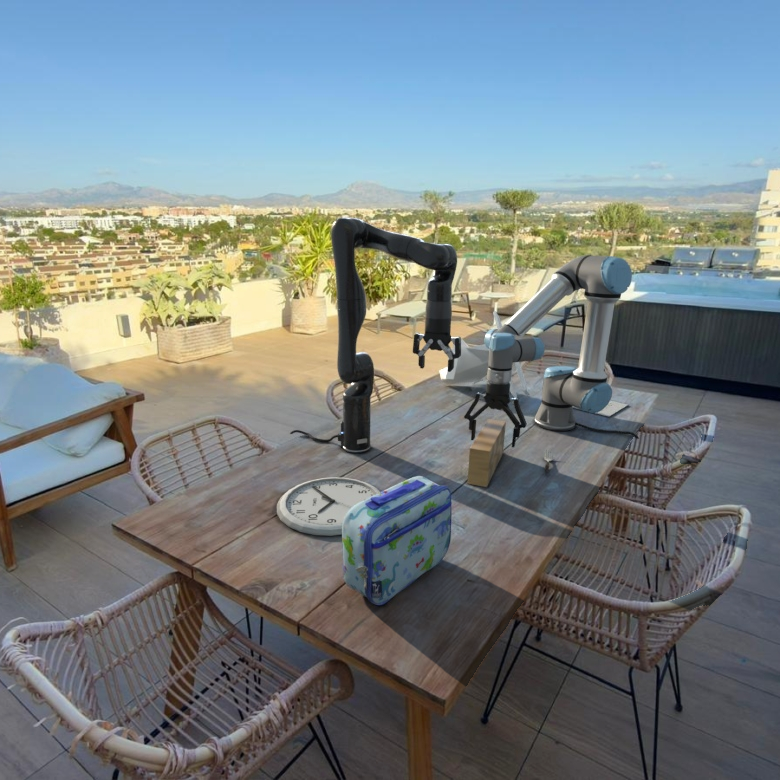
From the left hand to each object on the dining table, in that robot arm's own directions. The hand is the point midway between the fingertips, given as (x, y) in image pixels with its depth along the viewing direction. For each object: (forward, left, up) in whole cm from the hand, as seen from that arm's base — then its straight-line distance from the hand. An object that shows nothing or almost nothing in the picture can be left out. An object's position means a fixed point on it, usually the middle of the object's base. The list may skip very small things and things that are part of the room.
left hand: (435, 369), depth 156 cm
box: (+15, +10, -32) cm, 37 cm away
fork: (+31, +22, -32) cm, 50 cm away
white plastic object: (-17, +84, -32) cm, 92 cm away
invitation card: (+35, +94, -32) cm, 105 cm away
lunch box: (+18, -53, -32) cm, 64 cm away
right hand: (+13, +20, -28) cm, 36 cm away
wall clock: (-12, -36, -32) cm, 50 cm away
